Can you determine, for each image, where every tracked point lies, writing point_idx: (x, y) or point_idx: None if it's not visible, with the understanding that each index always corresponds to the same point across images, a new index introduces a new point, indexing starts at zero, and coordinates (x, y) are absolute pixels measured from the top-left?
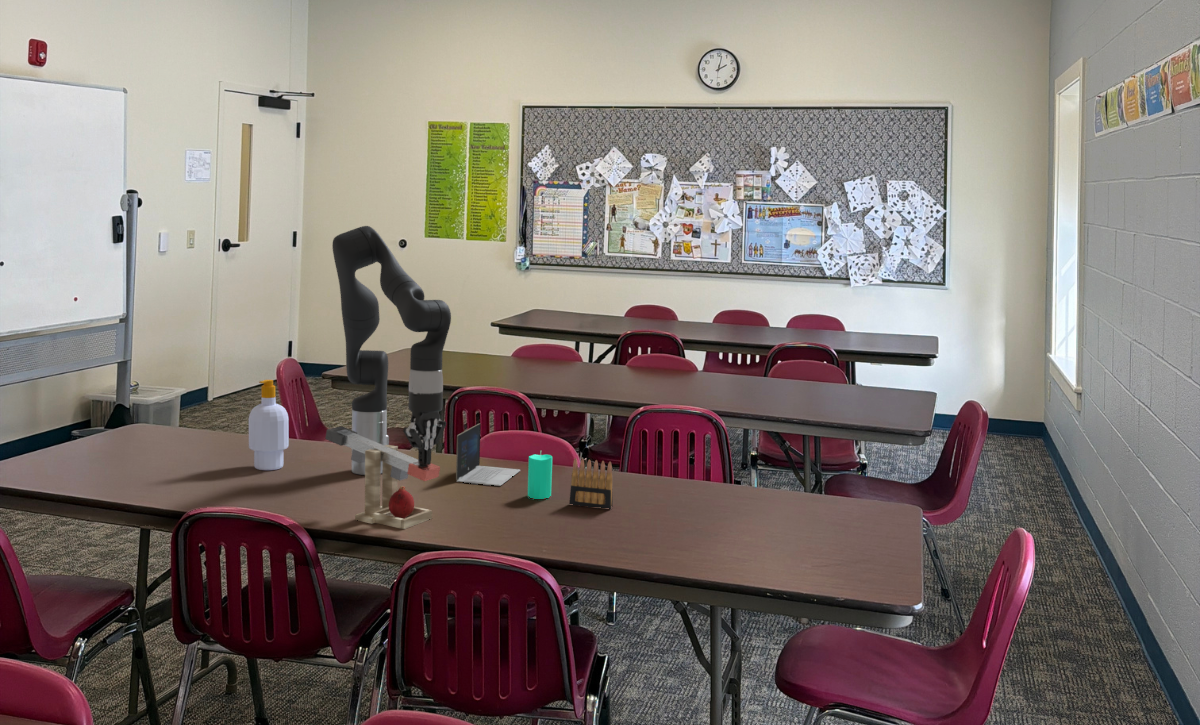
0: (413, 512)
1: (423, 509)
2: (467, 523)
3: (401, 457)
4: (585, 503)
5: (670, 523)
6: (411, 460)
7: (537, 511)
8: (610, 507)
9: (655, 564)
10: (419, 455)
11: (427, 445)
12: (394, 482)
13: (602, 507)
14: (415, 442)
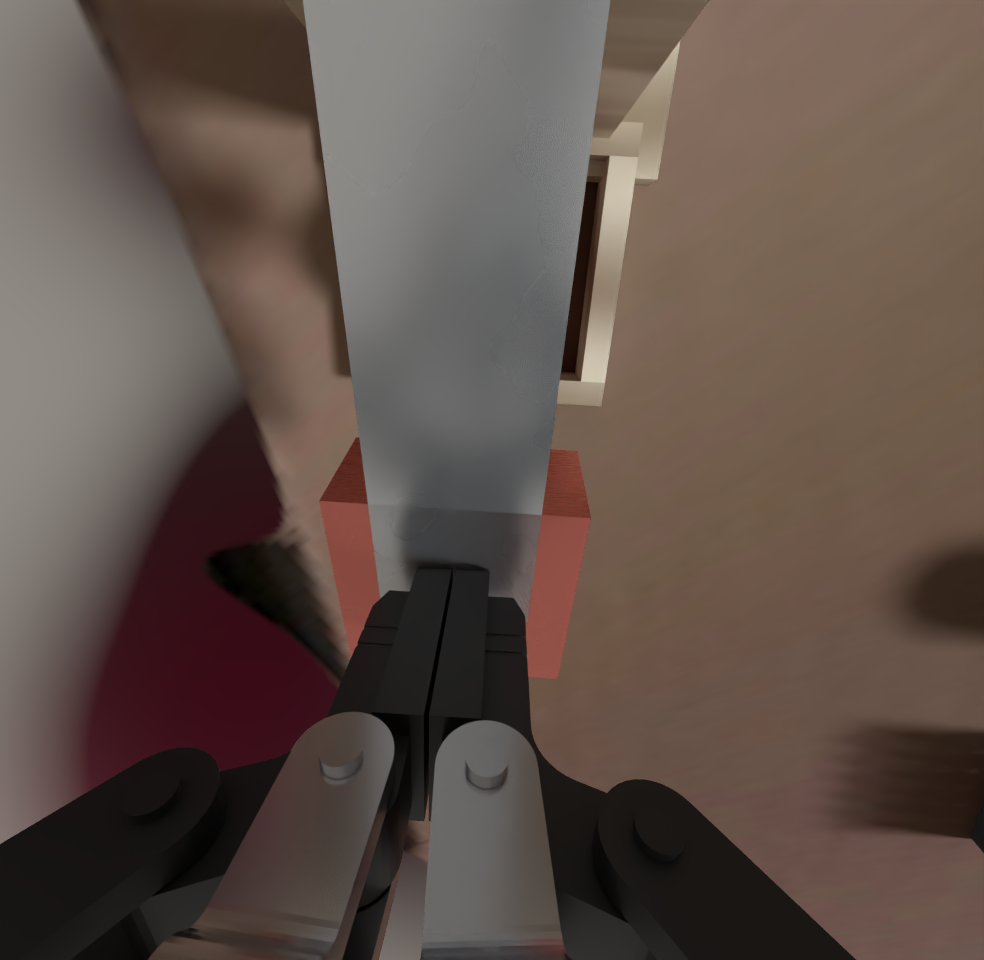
0: (589, 286)
1: (592, 356)
2: (605, 555)
3: (393, 306)
4: None
5: (861, 957)
6: (440, 455)
7: (879, 685)
8: (979, 847)
9: None
10: (353, 673)
11: (364, 913)
12: (609, 75)
13: (982, 826)
14: (115, 907)
